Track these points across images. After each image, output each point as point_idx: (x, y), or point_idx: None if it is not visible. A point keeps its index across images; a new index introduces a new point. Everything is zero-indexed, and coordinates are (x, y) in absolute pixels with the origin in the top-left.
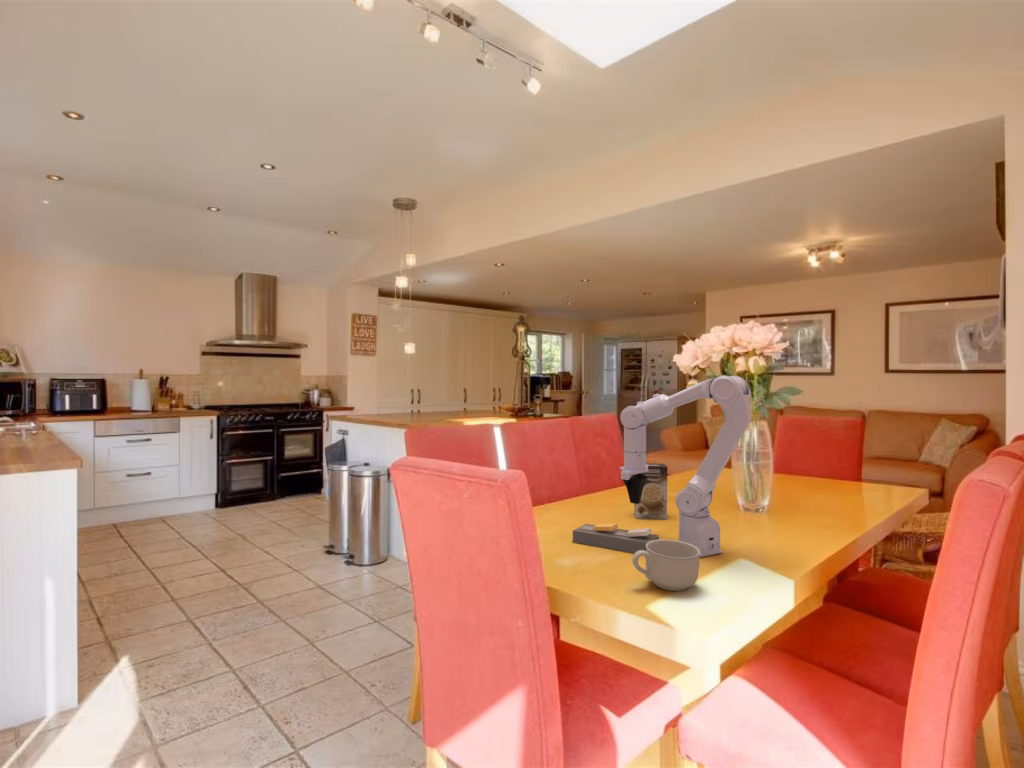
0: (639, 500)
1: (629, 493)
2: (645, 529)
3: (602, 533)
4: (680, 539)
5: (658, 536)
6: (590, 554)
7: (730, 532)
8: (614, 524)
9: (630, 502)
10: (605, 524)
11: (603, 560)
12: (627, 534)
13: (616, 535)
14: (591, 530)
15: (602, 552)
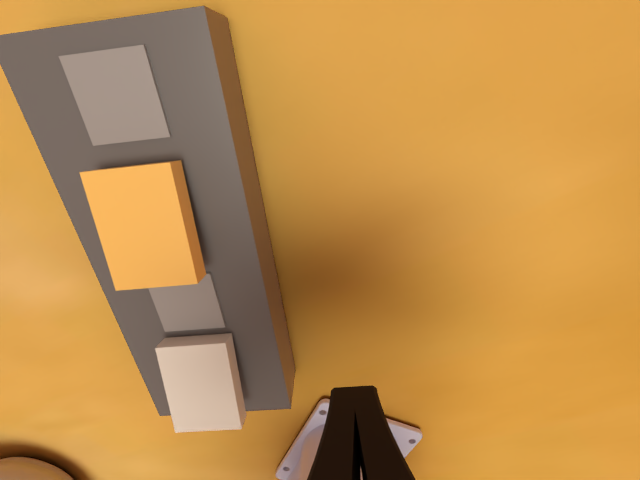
0: (359, 457)
1: (319, 469)
2: (215, 414)
3: None
4: (312, 457)
5: (286, 405)
6: (4, 224)
7: (625, 466)
8: (172, 278)
9: (332, 391)
10: (158, 220)
11: (5, 294)
12: (160, 344)
13: (144, 291)
14: (97, 145)
15: (69, 248)
